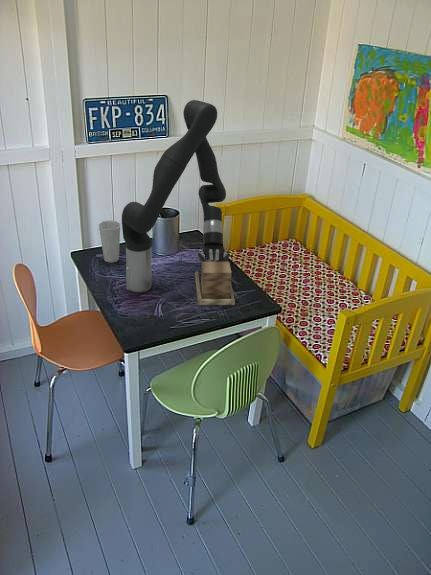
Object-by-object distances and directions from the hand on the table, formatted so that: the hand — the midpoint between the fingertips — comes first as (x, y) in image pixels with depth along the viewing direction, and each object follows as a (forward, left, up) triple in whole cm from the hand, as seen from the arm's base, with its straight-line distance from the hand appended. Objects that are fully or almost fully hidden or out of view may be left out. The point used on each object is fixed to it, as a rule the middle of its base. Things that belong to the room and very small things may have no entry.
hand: (214, 277), depth 204 cm
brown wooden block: (0, -5, -5) cm, 7 cm away
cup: (-40, +25, -6) cm, 47 cm away
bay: (0, -1, -6) cm, 6 cm away
